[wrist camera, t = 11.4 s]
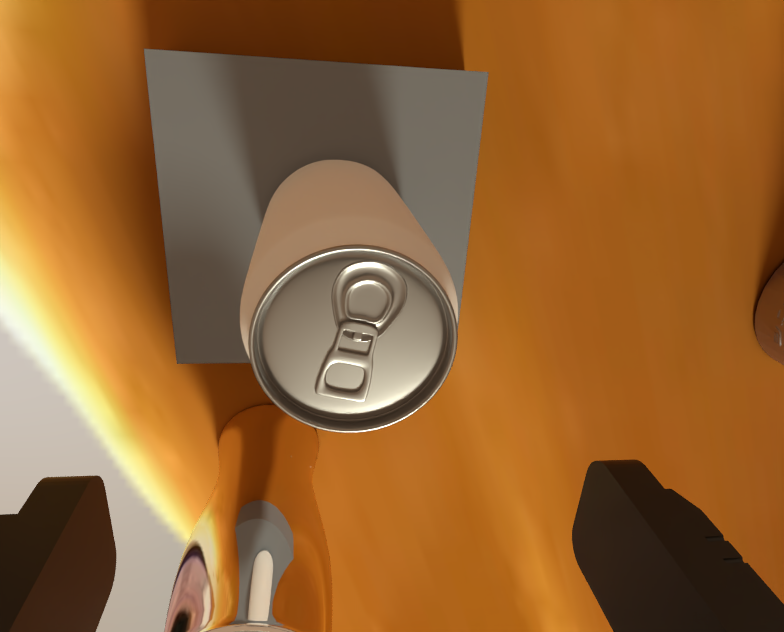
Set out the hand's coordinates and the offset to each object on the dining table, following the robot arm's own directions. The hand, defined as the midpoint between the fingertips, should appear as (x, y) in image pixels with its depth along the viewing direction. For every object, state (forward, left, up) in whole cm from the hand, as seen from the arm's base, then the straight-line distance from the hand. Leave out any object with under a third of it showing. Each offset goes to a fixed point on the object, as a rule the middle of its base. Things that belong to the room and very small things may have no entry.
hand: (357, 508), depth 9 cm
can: (0, 0, -18) cm, 18 cm away
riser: (0, 0, -22) cm, 22 cm away
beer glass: (+3, +15, -22) cm, 27 cm away
